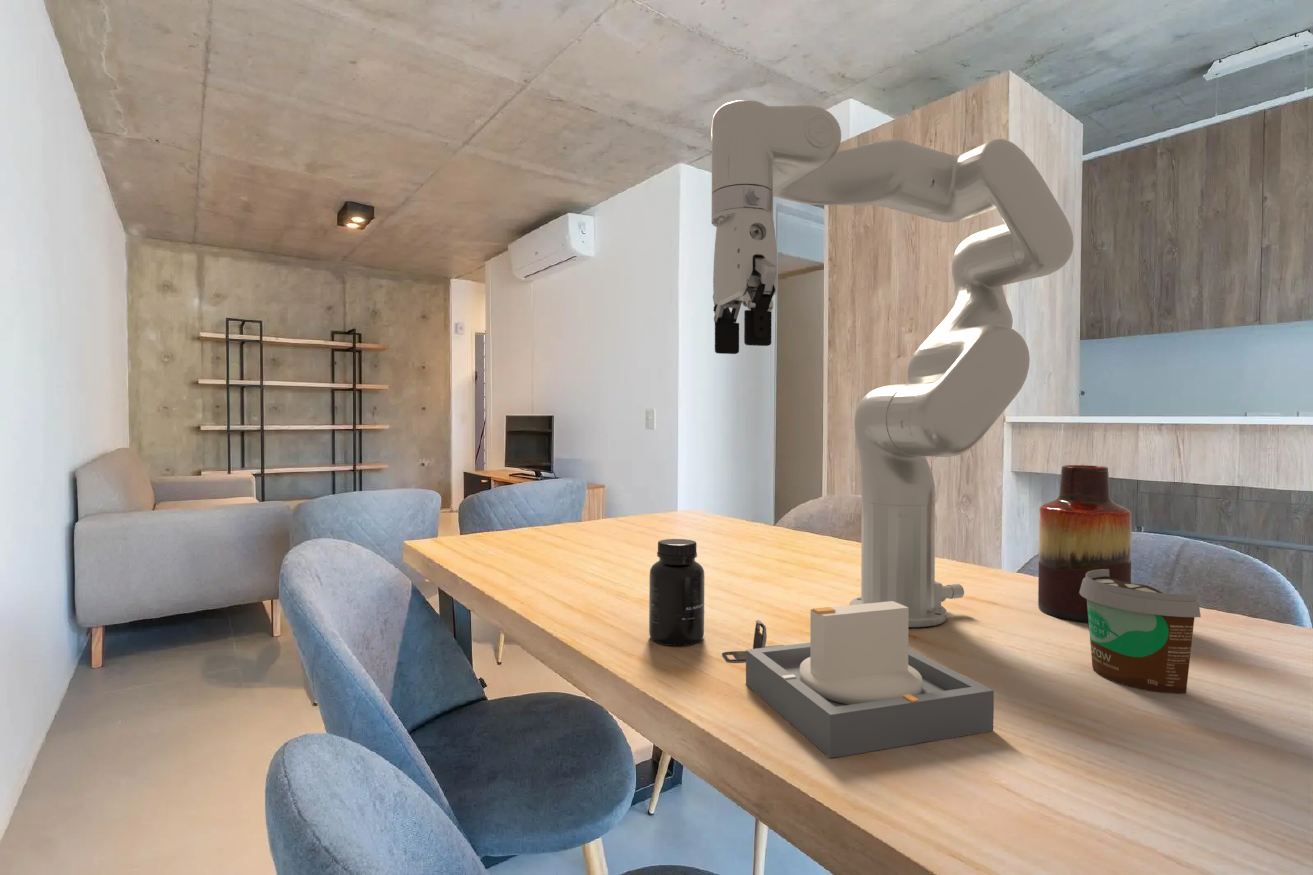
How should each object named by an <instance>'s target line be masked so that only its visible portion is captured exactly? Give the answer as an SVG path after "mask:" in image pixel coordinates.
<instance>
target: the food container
mask: <svg viewBox="0 0 1313 875" xmlns="http://www.w3.org/2000/svg"><path fill="white" fill-rule="evenodd" d="M1079 593H1080V595H1081V596H1082V597H1084V598H1086V599H1087V608H1088V620H1089V623H1088V629H1089V630H1088V631H1089V644H1090V653H1091V656H1090V657H1091V665H1092V670H1093V671H1094V672H1095V673H1096V674H1097V675H1098V676H1099V677H1102V678H1104V679H1106V680H1108V681H1110V682H1113V683H1116V684H1119V685H1122V686H1124V687H1129V688H1133V689H1139V690H1144V691H1147V692H1148V691H1149V692H1154V693H1163V694H1175V695H1177V694H1187V690H1188V689H1187V688H1188V680H1189V671H1190V669H1189V668H1190V660H1191V652H1192V642H1193V636H1194V634H1193V633H1194V628H1195V626H1194V625H1195V624H1194V623H1195V619H1196V618H1202V617H1201V611H1200V610H1201V608H1200V603H1199V601H1197V594H1196V593H1195V594H1192V593H1191V594H1180V593H1178V594H1177V593H1164V592H1163V591H1160V590H1158V589H1156V588H1154V587H1152V586H1150V585H1145V584H1141V583H1140V584H1139V583H1132V582H1131V583H1126V582H1123V581H1119V580H1116V579H1113V578H1110V576H1109V569H1100V570H1093V571H1089V572H1087V573H1086V576H1085V578H1083V580H1082V584H1081V588H1080V592H1079Z"/></svg>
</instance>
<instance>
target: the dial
mask: <svg viewBox="0 0 1313 875" xmlns="http://www.w3.org/2000/svg"><path fill="white" fill-rule="evenodd" d="M908 618H909V608H908V607H906V606H903V605H901V604H899V603H896V602H894V601H888V602H878V603H868V604H857V605H850V604H849V605H839V606H828V607H827V606H826V607H825V606H824V607H817V608H814V607H813V608H811V609H810V624H809V625H810V632H809V633H810V636H809V637H810V642H809V643H810V657H809V658H807V659H805V660H804V661H803V662H802V663H801V664H800V681H801V682H803V683H804V684H805V685H807V686H808V687H809V688H811V689H812V690H813V691H815V692H816V693H817V694H819V695H820V696H821V697H824V698H826V699H829V700H833V701H836V702H840V703H845V704H858V703H865V702H872V701H879V700H885V699H892V698H899V697H903V695H907V694H910V695H912V696H913V695H920V694H921V693H922V676H921V675H920V673H919V672H918V671H917V670H916V669H914V668H913V667H911V666H910V665H908V648H909V627H908Z"/></svg>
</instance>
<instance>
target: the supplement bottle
mask: <svg viewBox="0 0 1313 875" xmlns="http://www.w3.org/2000/svg"><path fill="white" fill-rule="evenodd" d="M697 547H698V546H697V541H696V540H691V539H687V538H686V539H684V538H668V539H667V538H665V539H661V540H658V542H657V552H656V556H657V557H658V561H656V562H655V563H654V564H652V566H651V568H650V569H649V581H648V582H649V587H648V588H649V589H648V590H649V601H648V602H649V603H648V604H649V605H648V609H649V610H648V616H649V617H648V620H649V621H648V626H649V627H648V631H649V633H648V635H649V637H650V638H651V640H653V641H654V642H656V643H658V644H661V645H667V646H674V647H675V646H679V647H680V646H681V647H682V646H689V645H694V644H697V643H699V642H700V641H701V640H702V639H703V638H704V635H705V634H704V633H705V569H704V567H703V566H702V565H701V564H700V563H699V562H697V561H696V559H697V557H698V552H697Z"/></svg>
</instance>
